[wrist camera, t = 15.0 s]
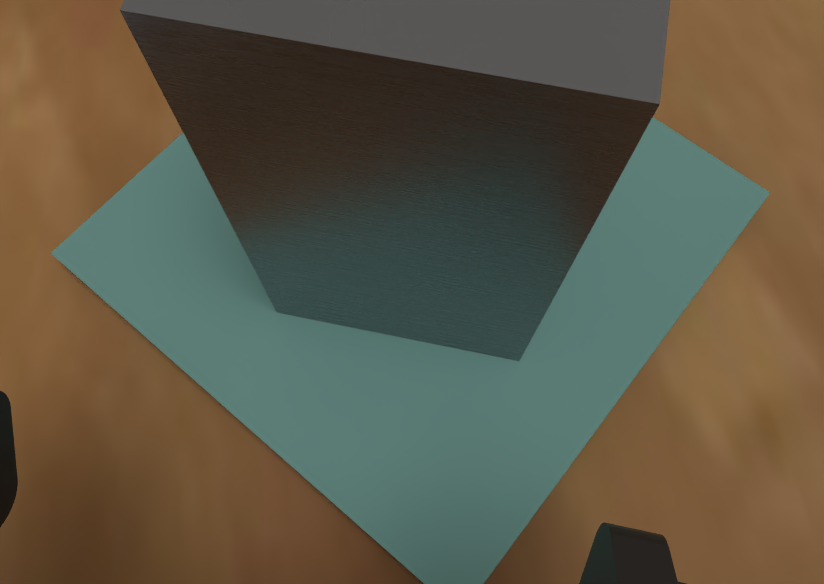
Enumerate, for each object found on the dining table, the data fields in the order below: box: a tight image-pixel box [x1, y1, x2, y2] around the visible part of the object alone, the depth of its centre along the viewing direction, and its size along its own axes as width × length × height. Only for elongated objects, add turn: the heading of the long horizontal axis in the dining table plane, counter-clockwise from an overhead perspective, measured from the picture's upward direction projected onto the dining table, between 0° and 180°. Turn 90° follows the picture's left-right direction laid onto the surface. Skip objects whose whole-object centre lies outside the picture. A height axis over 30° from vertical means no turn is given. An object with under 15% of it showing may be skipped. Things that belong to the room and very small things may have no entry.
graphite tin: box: [120, 0, 670, 361], centre depth 15 cm, size 6×6×11 cm
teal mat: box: [51, 117, 770, 584], centre depth 20 cm, size 14×14×1 cm
